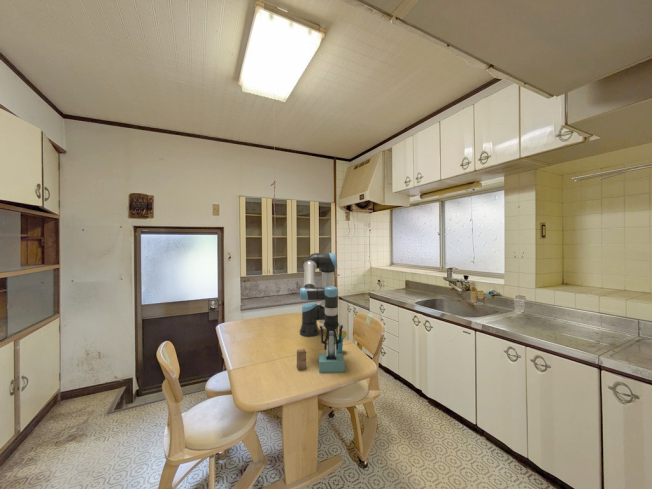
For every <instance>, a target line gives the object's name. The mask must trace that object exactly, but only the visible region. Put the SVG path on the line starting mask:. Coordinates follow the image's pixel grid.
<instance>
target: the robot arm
mask: <svg viewBox="0 0 652 489" xmlns="http://www.w3.org/2000/svg"><path fill="white" fill-rule="evenodd" d="M302 268H303V270H304V271H303V272H304V274H303V287H301V288H300V289H299V299H300V301H307V302H308V301H320V302H319V304H318V303H317V302H308V303H305V304H303V305H302V308H301V326H300V329H299V335H300V336H302V337H309V338H310V337H315V336H318V335H319V334H320V339H321V344H323V345H324V350H325V352H326V353H325V354H326V355H327V356H328V335H329V332H330V331H332V332H333V333H334V336H335V341H336V343H335V356H336V350H338V344H339V343H341V338H342V330H343V328H344V326H343V324H339V315H338V314H339V306H338V305H339V304H338V301H339V300H338V299H339V289H338V287H336V286H334V273H335V272H336V270H337V269H338V261H337V256H336V254H335V253H334V252H314V253H311V254H309V255H308V256H307V257H306V258H305V259H304V262H303V266H302ZM316 269H319V272H320V273H321V287H316ZM318 321H324V322H323V324H320V325H319V326H318ZM337 328H338V334H339V340H337V335H336V334H337V332H336V331H337ZM324 329H326V332H325V336H324ZM324 337H325V338H324Z"/></svg>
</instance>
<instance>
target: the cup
mask: <svg viewBox="0 0 652 489" xmlns="http://www.w3.org/2000/svg"><path fill="white" fill-rule="evenodd" d="M329 333H333V334H334V331H329ZM336 335H337V340H339V333H336ZM347 335H348V334H347V330H346V331H345V330H344V329H342V338H341V343H339V344H338V350H336V353H342V354H343V345H344V344H343V343H344V339H345V338H346V337H347ZM335 343H336V341H335Z"/></svg>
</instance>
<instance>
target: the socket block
mask: <svg viewBox="0 0 652 489" xmlns="http://www.w3.org/2000/svg"><path fill="white" fill-rule="evenodd" d="M343 354H344V353H343V352H342V353H336V356H335V360H328V356H327V355H326V353H318V372H319V374H321V373H322V374H324V373H325V374H326V373H327V374H328V373H345V372H346V371H345V370H346V368H345V367H346V366H345V364H346V363H345V359H344V355H343Z"/></svg>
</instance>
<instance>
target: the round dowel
mask: <svg viewBox="0 0 652 489" xmlns="http://www.w3.org/2000/svg"><path fill="white" fill-rule="evenodd" d="M333 333H334V332H333ZM333 333H332V332H331V333H329V335H328V340H327V343H328V360H335V336H334V334H333Z"/></svg>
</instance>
